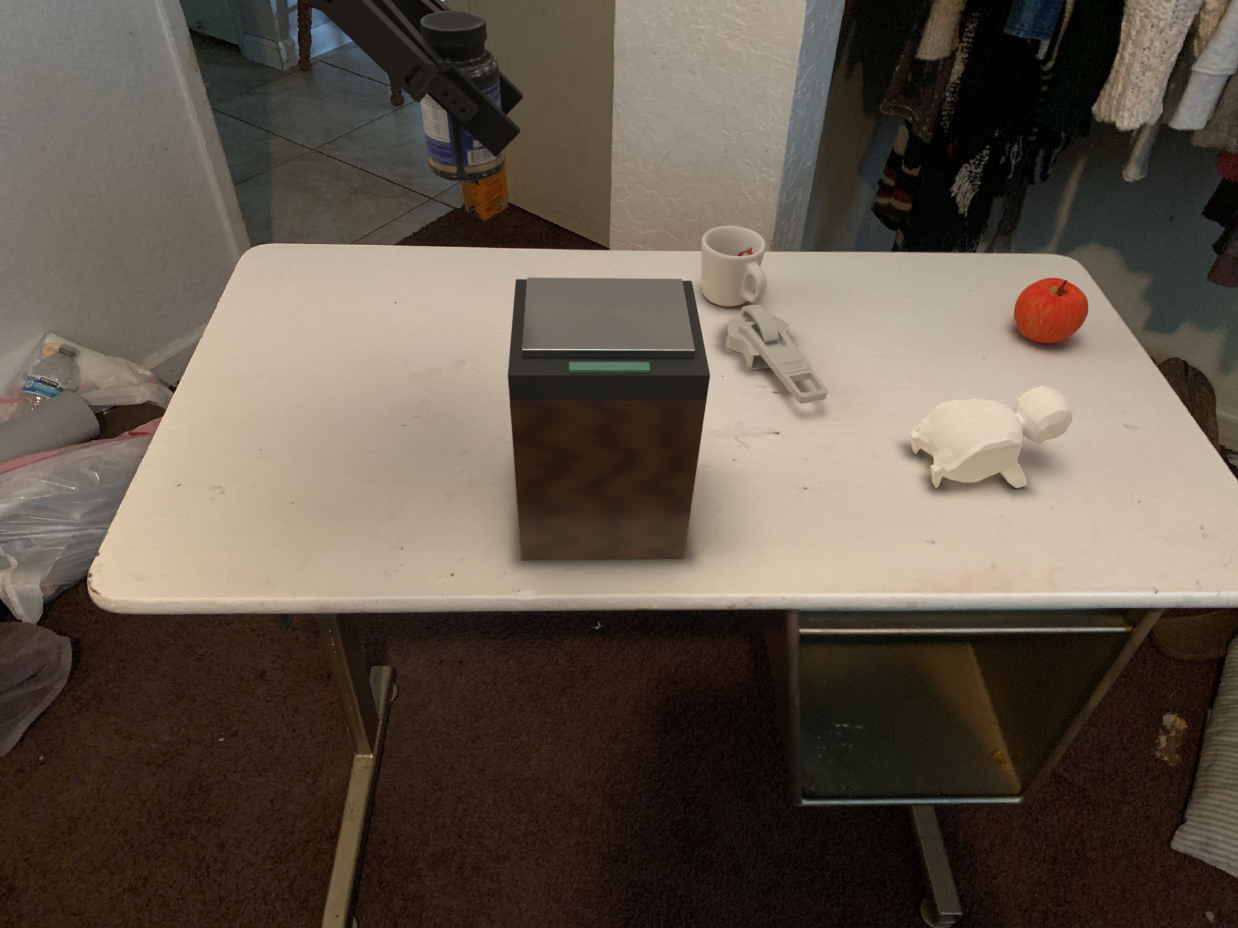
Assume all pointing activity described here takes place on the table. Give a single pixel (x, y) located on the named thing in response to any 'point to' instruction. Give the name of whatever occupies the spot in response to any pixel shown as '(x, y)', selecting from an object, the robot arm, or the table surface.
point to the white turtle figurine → (989, 434)
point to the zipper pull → (772, 350)
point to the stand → (605, 477)
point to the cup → (732, 266)
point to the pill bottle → (463, 46)
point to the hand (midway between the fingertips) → (509, 124)
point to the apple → (1050, 310)
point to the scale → (606, 341)
